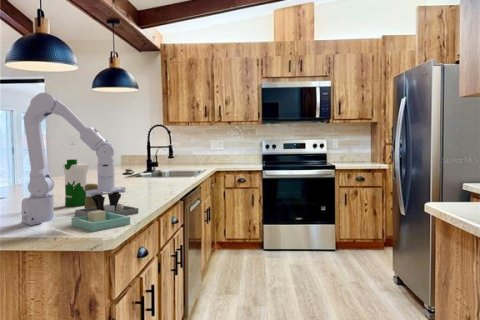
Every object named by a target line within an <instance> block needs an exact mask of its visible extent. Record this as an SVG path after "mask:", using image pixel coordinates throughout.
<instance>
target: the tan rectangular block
mask: <svg viewBox="0 0 480 320" xmlns="http://www.w3.org/2000/svg"><path fill="white" fill-rule="evenodd" d="M105 220H106V215H105V211H101V210H96V211H90V212H88V221H90V222H100V221H105Z"/></svg>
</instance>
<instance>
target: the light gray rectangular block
mask: <svg viewBox="0 0 480 320" xmlns="http://www.w3.org/2000/svg"><path fill="white" fill-rule="evenodd" d="M104 211H105V213H106V212H115V205H110V203H108V204H104Z"/></svg>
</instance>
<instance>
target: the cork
mask: <svg viewBox="0 0 480 320" xmlns="http://www.w3.org/2000/svg"><path fill="white" fill-rule="evenodd" d="M95 189H98V183H88V184H87V185H85V191H89V190H95ZM83 207H84V208H83V209H85V208H92V207H96V205H95V203H94V201H93V199H92V196H91V197H88V196H86V198H85V206H83Z"/></svg>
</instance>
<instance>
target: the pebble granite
mask: <svg viewBox="0 0 480 320" xmlns="http://www.w3.org/2000/svg"><path fill="white" fill-rule="evenodd" d="M123 205H124V202H122V201H121V202H119V201H118V203H117V206H116V210H115V212H116V211H122V210H123Z"/></svg>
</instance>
